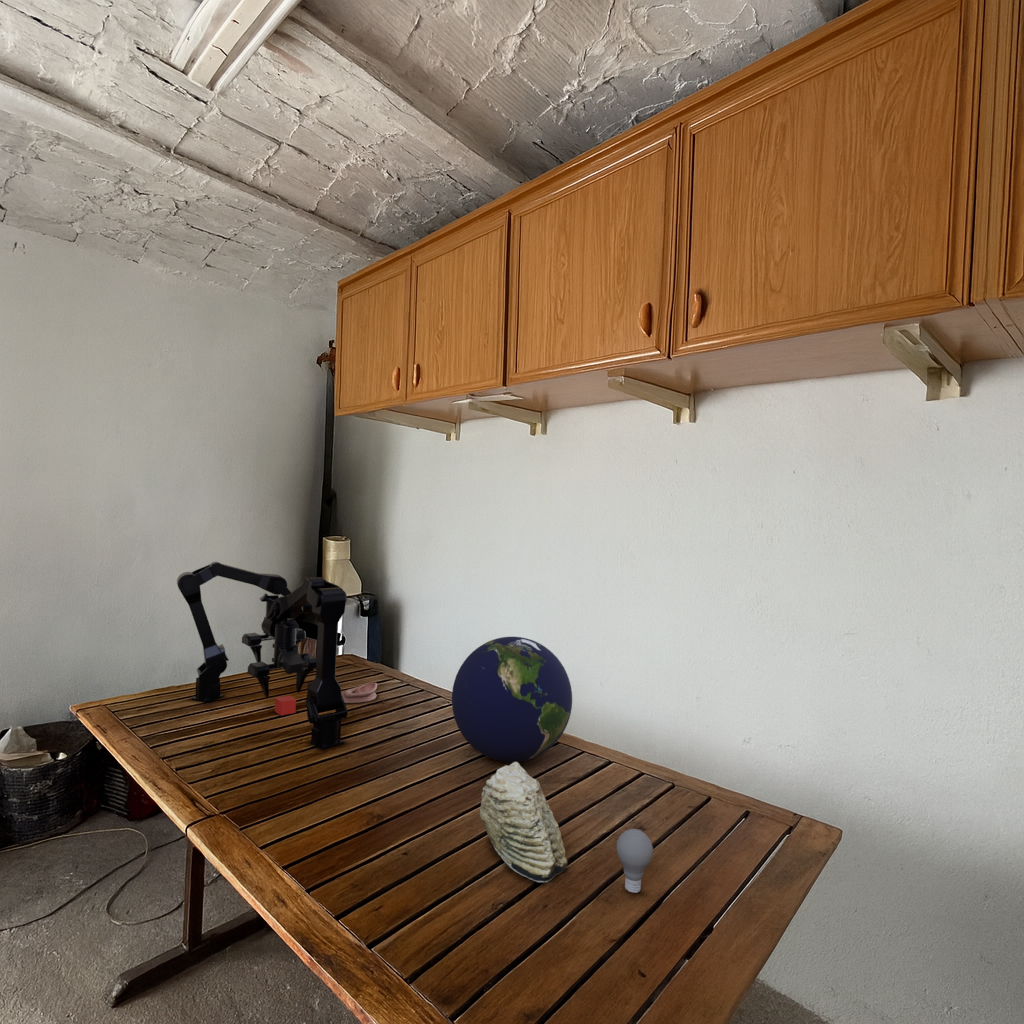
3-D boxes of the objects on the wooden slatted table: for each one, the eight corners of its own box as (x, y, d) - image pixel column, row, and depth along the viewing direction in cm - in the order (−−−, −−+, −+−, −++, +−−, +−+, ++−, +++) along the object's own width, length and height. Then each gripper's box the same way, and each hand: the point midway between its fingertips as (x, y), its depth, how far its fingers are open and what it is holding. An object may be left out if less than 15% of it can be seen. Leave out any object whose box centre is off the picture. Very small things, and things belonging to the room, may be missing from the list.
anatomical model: (326, 688, 195) (343, 678, 206) (325, 700, 195) (343, 690, 206) (366, 692, 192) (381, 682, 203) (365, 705, 192) (381, 694, 203)
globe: (497, 727, 179) (502, 621, 178) (591, 755, 161) (596, 638, 161) (424, 759, 155) (429, 637, 154) (524, 797, 137) (530, 659, 137)
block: (281, 715, 181) (281, 701, 181) (274, 711, 184) (275, 697, 184) (295, 712, 184) (296, 699, 184) (288, 708, 187) (289, 695, 187)
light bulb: (610, 879, 108) (613, 822, 108) (644, 879, 109) (647, 822, 109) (619, 902, 102) (622, 840, 102) (655, 901, 103) (658, 840, 103)
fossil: (501, 827, 124) (504, 751, 124) (575, 868, 111) (578, 784, 111) (467, 843, 118) (470, 763, 118) (541, 889, 105) (545, 799, 105)
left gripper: (256, 621, 190) (254, 673, 190) (314, 615, 203) (312, 664, 203) (241, 615, 198) (240, 665, 198) (298, 610, 211) (297, 657, 211)
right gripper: (264, 652, 169) (261, 710, 169) (328, 643, 181) (326, 697, 182) (248, 643, 177) (245, 698, 177) (311, 635, 190) (308, 686, 190)
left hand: (273, 663), depth 202 cm, fingers open, 9 cm apart
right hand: (282, 695), depth 181 cm, fingers open, 9 cm apart
